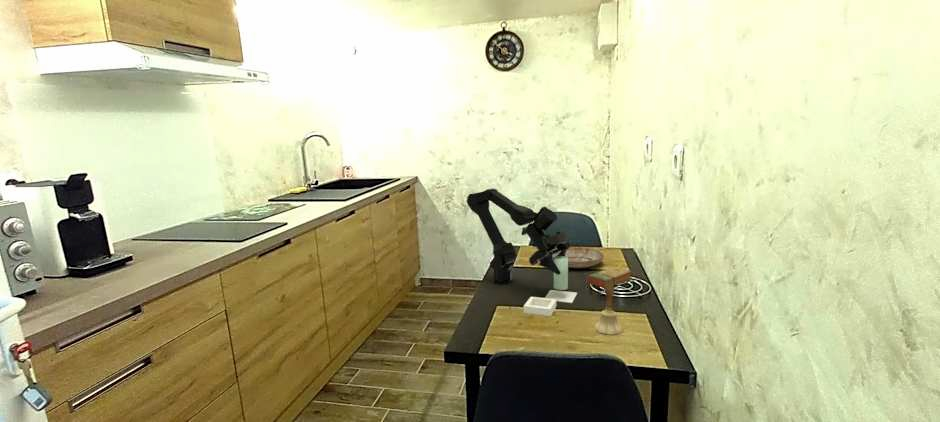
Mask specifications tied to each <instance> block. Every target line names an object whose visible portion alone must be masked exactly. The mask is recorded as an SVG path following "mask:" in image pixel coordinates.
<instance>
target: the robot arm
mask: <svg viewBox="0 0 940 422" xmlns="http://www.w3.org/2000/svg"><path fill="white" fill-rule="evenodd" d="M490 202H491V203H493V204H494V205H495V206H497V207H499V208H500V209H501V210H502V211H504V212H506V213H507V214H508V215H509V217H510V219H511V221H513V222H514V223H515V225H517V226H519V227H522V226H524V227H522V228H521V236H526V235H527V236H528V238H529V239H530V240H531V242H532V248H536V249H537V250H536V251H535V252H534V253H533V254H532V255H531V256H530V257H529V258H528V262H529V264H530V265H531V266H532V267H533V266H535V265H537V264H538V266H541V267H543V268H545V269H547V270H549V271H551V272H552V273H553V274H554V273H556V274H557V275H559V274H560V271H559V269H558V268H557V266H556V264H555V263H554V261H553V260H554V259H553V257H552V255H554V256H555V257H556V256H565V253H566V251H567V250H568V249H569V248H572V247H571V246H572V245H571V244H570V242H569V241H566V238H567V234H566V233H565V232H564V231H563V230H559V231H556V234H554V235H551V234H549V233H546V231H547V230H548V229H550V227H551V226H552V225H553V224H554V223H555V222H557V220H558V215H557V214H556V212H555V211H553V210H552V209H549V208H547V207H546V206H542V207H541V208H540V209H539V211H538V212H535V211H534V210H533V209H532V208H529V207H527V206H524V205H520V204H518V203H516V202H514V201H513V200H511V199H510V198H508V197H507V196H505V195H504V194H503V193H502V192H499V191H498V189H497V188H487V189H485V190H483V191H479V192H478V191H477V192H472V193H469V194H468V196H467V197H466V203H467V205H468V207H469V209H470V210H471V212H473V213H474V214H476V215H477V216H478V218H479V220H480V223H481V224H482V226H483V228H484V230H485V232H486V234H487V236H488V238H489V240H490V243H491V244H492V246H493V247H492V248H493V249H492V254H493V258H492V259H491V261H490V262H489V264H490V268H491V269H493V280H492V283H493V284H503V285H508V284H509V283H510V282H512V280H513V270H512V269H511V267H512V266H514V263H515V261H516V259H517V253H516V252H517V250H516V249H515V247H514V245H513V243H512V242H507V241H506V240H505V238H504V237H503V235H502V233H501V231H500V229H499V227H498V225H497V224H496V221H495V219H494V217H493V215H492V212H491V211H490ZM525 225H527V226H525ZM538 262H539V263H538ZM569 270H570V267H568V271H569Z"/></svg>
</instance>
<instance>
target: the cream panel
mask: <svg viewBox="0 0 940 422" xmlns="http://www.w3.org/2000/svg"><path fill="white" fill-rule="evenodd" d="M577 294H578V292H573V291H566V290H565V291H564V290H558V289H550V290H549V291H548V293H547V294H546V295H545V297H544V298H547V299H556V302H561V303H568V304H573V302H574V300H575V299H576V296H577Z"/></svg>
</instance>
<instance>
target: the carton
mask: <svg viewBox="0 0 940 422" xmlns="http://www.w3.org/2000/svg"><path fill="white" fill-rule="evenodd" d="M608 279H612V281H613V284H614V285H616V286H618V285H621V284H624V283H626V282H628V280H629V281H631V270H628V269H625V268H621V267H616V266H611V267H609V268H606V269H603V270H600V271H597V272H594V273H591V274H589V275H588V279H587V280H588V282H587V283H588V285H590V284H591V286H593V285H596V286H599V287H598V288H600V287H602V288H601V289H603V288H605V287H606V283H607V281H608ZM623 282H624V283H623ZM620 283H621V284H620ZM617 284H618V285H617ZM596 286H595V287H596Z"/></svg>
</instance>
